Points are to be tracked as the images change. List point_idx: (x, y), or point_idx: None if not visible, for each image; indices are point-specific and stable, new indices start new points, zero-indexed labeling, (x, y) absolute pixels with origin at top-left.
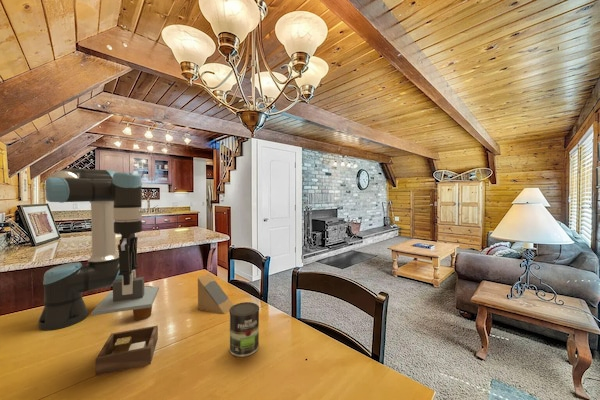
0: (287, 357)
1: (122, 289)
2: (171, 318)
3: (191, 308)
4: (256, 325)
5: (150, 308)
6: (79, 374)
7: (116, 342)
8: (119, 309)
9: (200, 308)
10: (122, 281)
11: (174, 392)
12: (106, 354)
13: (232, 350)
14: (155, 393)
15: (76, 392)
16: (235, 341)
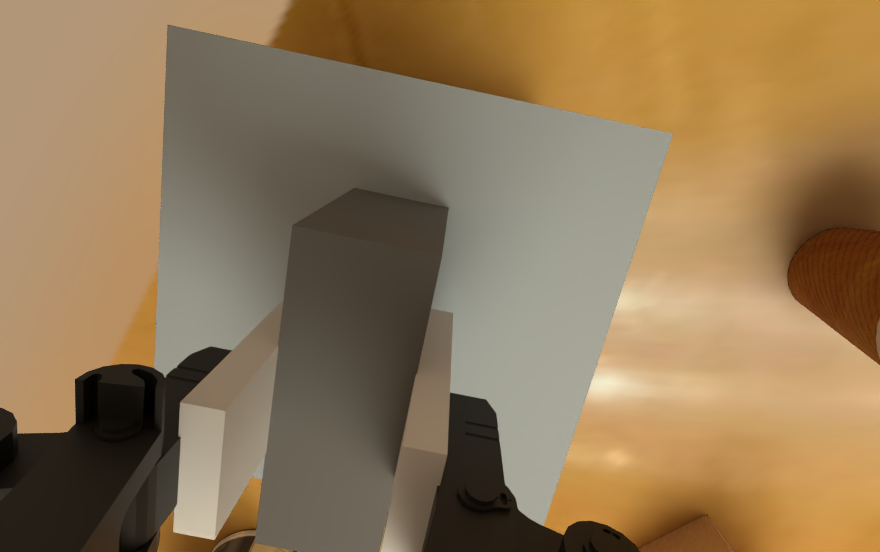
0: None
1: (277, 306)
2: (689, 394)
3: (736, 490)
4: None
5: (829, 325)
6: (412, 20)
7: None
8: (165, 245)
9: (693, 526)
10: (232, 352)
11: (131, 341)
12: None
13: (234, 543)
14: (152, 289)
15: (286, 31)
16: None
